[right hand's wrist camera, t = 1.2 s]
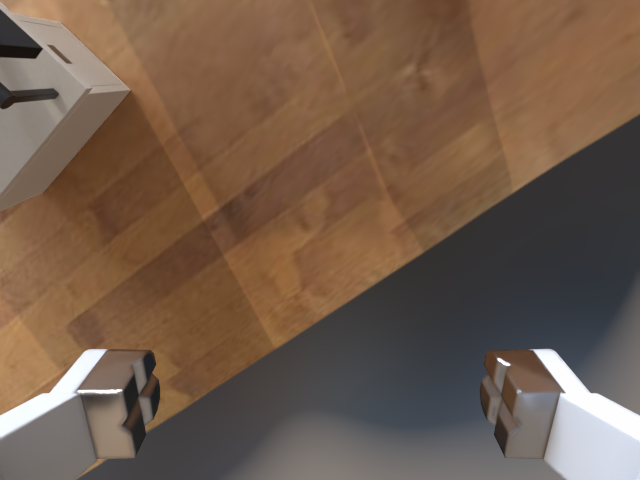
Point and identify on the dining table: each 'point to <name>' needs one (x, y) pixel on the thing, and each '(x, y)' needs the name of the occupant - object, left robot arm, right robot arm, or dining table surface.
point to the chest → (80, 122)
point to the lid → (33, 105)
